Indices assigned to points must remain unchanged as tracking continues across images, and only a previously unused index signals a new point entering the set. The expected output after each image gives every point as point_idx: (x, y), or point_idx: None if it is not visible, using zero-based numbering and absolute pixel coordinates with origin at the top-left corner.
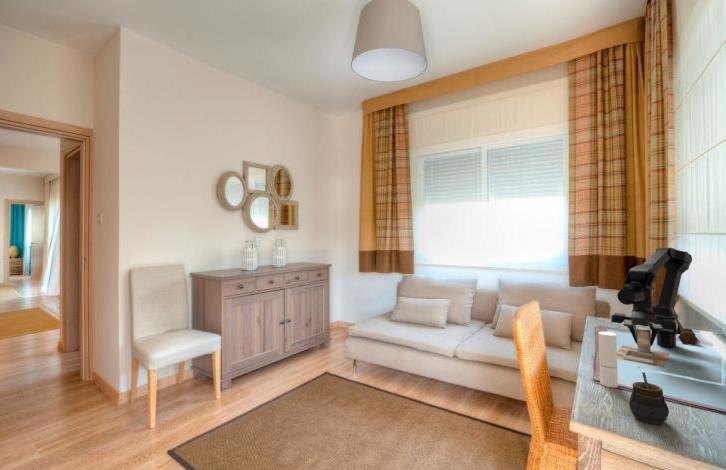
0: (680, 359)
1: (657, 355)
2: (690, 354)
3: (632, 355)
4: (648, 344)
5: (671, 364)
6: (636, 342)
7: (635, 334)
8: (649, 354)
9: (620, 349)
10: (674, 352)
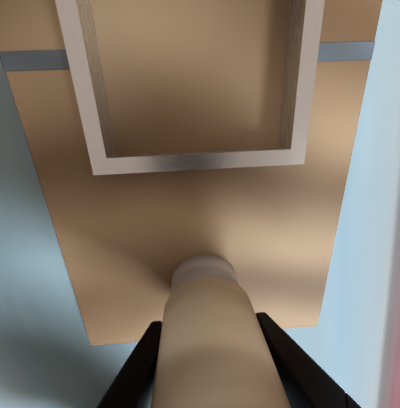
0: (31, 289)
1: (120, 241)
2: (42, 394)
3: (250, 109)
4: (170, 313)
5: (11, 135)
6: (261, 316)
7: (311, 406)
8: (138, 155)
9: (331, 218)
10: (100, 380)
